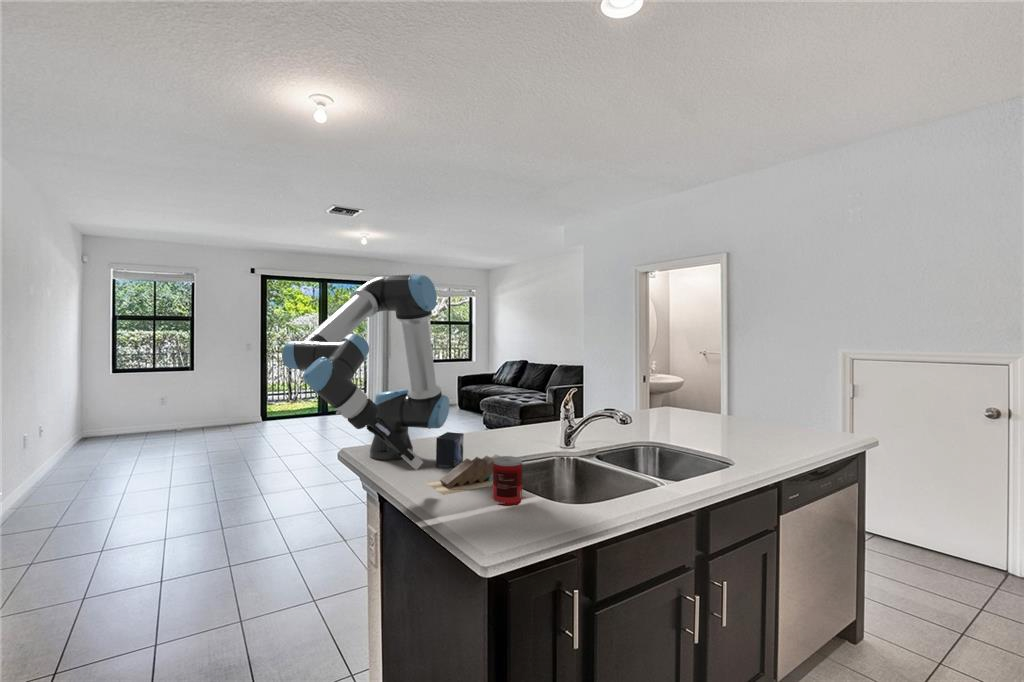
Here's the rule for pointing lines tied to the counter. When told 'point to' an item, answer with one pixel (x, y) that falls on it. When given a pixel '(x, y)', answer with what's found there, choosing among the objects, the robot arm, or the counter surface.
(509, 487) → the canned food
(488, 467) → the domino
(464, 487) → the board
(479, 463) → the domino
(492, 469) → the domino
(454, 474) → the domino
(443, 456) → the small box
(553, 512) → the counter surface
